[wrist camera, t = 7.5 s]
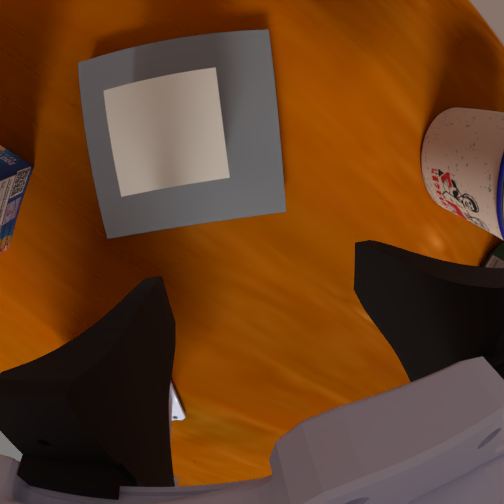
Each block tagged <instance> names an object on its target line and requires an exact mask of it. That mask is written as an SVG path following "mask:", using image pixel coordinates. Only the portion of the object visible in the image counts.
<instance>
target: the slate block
mask: <svg viewBox="0 0 504 504" xmlns="http://www.w3.org/2000/svg"><path fill="white" fill-rule="evenodd" d="M214 67H216V74H217V82H218V90H219V98H220V106H221V114H222V122H223V130H224V137H225V145H226V153H227V160H228V168H229V175H230V178H224V179H218V180H211V181H205V182H199V183H192V184H187V185H181V186H175V187H169V188H164V189H158V190H153V191H148V192H143V193H138V194H133V195H128V196H123V197H121V193H120V188H119V183H118V178H117V173H116V168H115V163H114V158H113V152H112V146H111V140H110V134H109V128H108V121H107V114H106V107H105V100H104V90H107V89H111V88H114V87H118V86H122V85H126V84H130V83H134V82H138V81H142V80H147V79H151V78H156V77H161V76H166V75H171V74H176V73H182V72H188V71H194V70H200V69H207V68H214ZM78 72H79V84H80V94H81V103H82V112H83V119H84V127H85V133H86V140H87V146H88V152H89V158H90V163H91V169H92V174H93V179H94V184H95V189H96V193H97V198H98V202H99V207H100V211H101V215H102V219H103V223H104V227H105V231H106V235H107V239H110V238H116V237H121V236H127V235H133V234H139V233H145V232H151V231H157V230H163V229H169V228H176V227H182V226H189V225H195V224H202V223H208V222H215V221H222V220H229V219H236V218H243V217H250V216H258V215H265V214H273V213H280V212H286V204H285V190H284V177H283V164H282V152H281V141H280V130H279V119H278V109H277V99H276V89H275V79H274V70H273V61H272V53H271V44H270V36H269V29H268V30H245V31H232V32H221V33H211V34H203V35H195V36H188V37H182V38H176V39H170V40H164V41H159V42H154V43H149V44H145V45H140V46H136V47H132V48H128V49H124V50H120V51H116V52H112V53H109V54H105V55H102V56H98V57H95V58H92V59H89V60H85V61H82V62H79V63H78Z"/></svg>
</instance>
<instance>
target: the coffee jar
mask: <svg viewBox="0 0 504 504" xmlns="http://www.w3.org/2000/svg"><path fill="white" fill-rule="evenodd" d="M482 267H488V268H504V242H502V243H501V244H500V245H498V246H497V247H496V249H495V250H494V251H492V252H491V253H490V255H489V256H488V258H487V259H486V261H485V262H484V264H483V266H482Z"/></svg>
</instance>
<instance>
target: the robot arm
mask: <svg viewBox="0 0 504 504" xmlns="http://www.w3.org/2000/svg"><path fill="white" fill-rule="evenodd" d="M354 290H355V292H356V294H357V296H358V298H359V300H360V302H361V304H362V306H363V308H364V309H365V311H366V312H367V314H368V315H369V316H370V318H371V319H372V320H373V322H374V323H375V325H376V326H377V327H378V329H379V330H380V331H381V333H382V334H383V335H384V337H385V338H386V340H387V341H388V342H389V344H390V345H391V346H392V348H393V349H394V351H395V353H396V354H397V356H398V358H399V360H400V361H401V363H402V365H403V367H404V369H405V371H406V373H407V375H408V377H409V379H410V381H411V382H410V383H408V384H405V385H402V386H400V387H397V388H394V389H392V390H389V391H386V392H383V393H380V394H377V395H374V396H371V397H368V398H365V399H362V400H358V401H355V402H352V403H349V404H345V405H342V406H338V407H335V408H332V409H330V410H328V411H325V412H323V413H320V414H318V415H316V416H313V417H310V418H308V419H305V420H303V421H302V422H300V423H299V424H298V425H297V426H295V427H294V428H293V429H291V430H290V431H289V432H287V433H286V434H285V435H283V436H282V437H281V438H280V439H279V440H278V441H277V442H276V443H275V446H274V448H273V451H272V454H271V456H270V459H269V460H270V465H271V470H272V475H270V476H267V477H264V478H259V479H253V480H246V481H239V482H231V483H222V484H212V485H200V486H182V487H178V478H177V477H174V476H173V467H172V458H171V423H172V420H182V419H185V412H184V410H183V408H182V406H181V403H180V401H179V399H178V396H177V394H176V392H175V389H174V387H173V384H172V382H171V375H172V368H173V360H174V352H175V320H174V317H173V314H172V310H171V307H170V304H169V300H168V297H167V293H166V290H165V287H164V283H163V280H162V276H159V277H153V278H147V279H144V280H143V281H142V282H141V283H139V284H138V285H137V286H136V287H135V288H134V289H133V290H132V291H131V292H130V293H129V294H128V295H127V296H126V297H125V298H124V299H123V300H122V301H121V302H120V303H118V304H117V305H116V306H115V307H114V308H113V309H112V310H111V311H110V312H108V313H107V314H106V315H105V316H104V317H103V318H102V319H100V320H99V321H98V322H97V323H96V324H94V325H93V326H92V327H90V328H89V329H88V330H86V331H85V332H83V333H82V334H81V335H79V336H78V337H76V338H74V339H73V340H71V341H69V342H68V343H66V344H64V345H63V346H61V347H60V348H58V349H56V350H54V351H52V352H50V353H48V354H46V355H44V356H42V357H40V358H38V359H36V360H33V361H31V362H29V363H26V364H23V365H20V366H18V367H15V368H12V369H9V370H6V371H3V372H1V374H0V431H1V432H2V433H3V434H4V435H5V436H6V437H7V438H8V439H9V441H11V443H12V444H13V445H14V446H15V447H16V448H17V449H18V450H19V451H20V452H21V453H22V454H23V456H22V459H21V462H19V461H17V460H15V459H13V458H11V457H8V456H4V455H0V504H504V268H488V267H478V266H469V265H462V264H457V263H452V262H447V261H442V260H438V259H434V258H431V257H427V256H424V255H420V254H417V253H414V252H410V251H407V250H404V249H401V248H398V247H395V246H392V245H388V244H385V243H381V242H377V241H372V240H368V241H362V242H357V243H355V276H354Z"/></svg>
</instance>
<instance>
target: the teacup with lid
mask: <svg viewBox="0 0 504 504" xmlns="http://www.w3.org/2000/svg"><path fill="white" fill-rule="evenodd" d="M421 167H422V174H423V179H424V182H425V185H426V188H427V190H428V192H429V194H430V195H431V197H432V198H433V199H434V201H435V202H436V203H437V204H438V205H440V206H441V207H443V208H445V209H447V210H449V211H451V212H453V213H455V214H457V215H458V216H460V217H462V218H464V219H466V220H468V221H470V222H472V223H474V224H475V225H477V226H479V227H481V228H483V229H485V230H486V231H488V232H490V233H492V234H493V235H495V236H497V237H499V238H500V239H502V240H504V112H497V111H489V110H480V109H471V108H460V107H455V108H450V109H447V110H445V111H443V112H442V113H440V114H439V115H438V116H437V117H436V118H435V119H434V120H433V121H432V123H431V125H430V126H429V128H428V130H427V133H426V135H425V138H424V142H423V146H422V154H421Z"/></svg>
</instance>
